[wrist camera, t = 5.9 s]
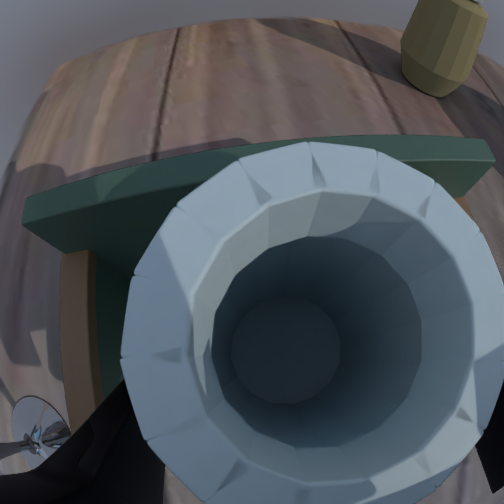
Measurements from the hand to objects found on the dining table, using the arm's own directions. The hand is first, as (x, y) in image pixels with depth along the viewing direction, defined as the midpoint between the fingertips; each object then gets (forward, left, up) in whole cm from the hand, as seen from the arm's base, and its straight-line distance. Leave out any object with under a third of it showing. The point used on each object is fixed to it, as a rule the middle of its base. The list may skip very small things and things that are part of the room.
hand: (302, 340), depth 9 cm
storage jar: (0, 0, -8) cm, 8 cm away
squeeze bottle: (+30, -4, -8) cm, 32 cm away
